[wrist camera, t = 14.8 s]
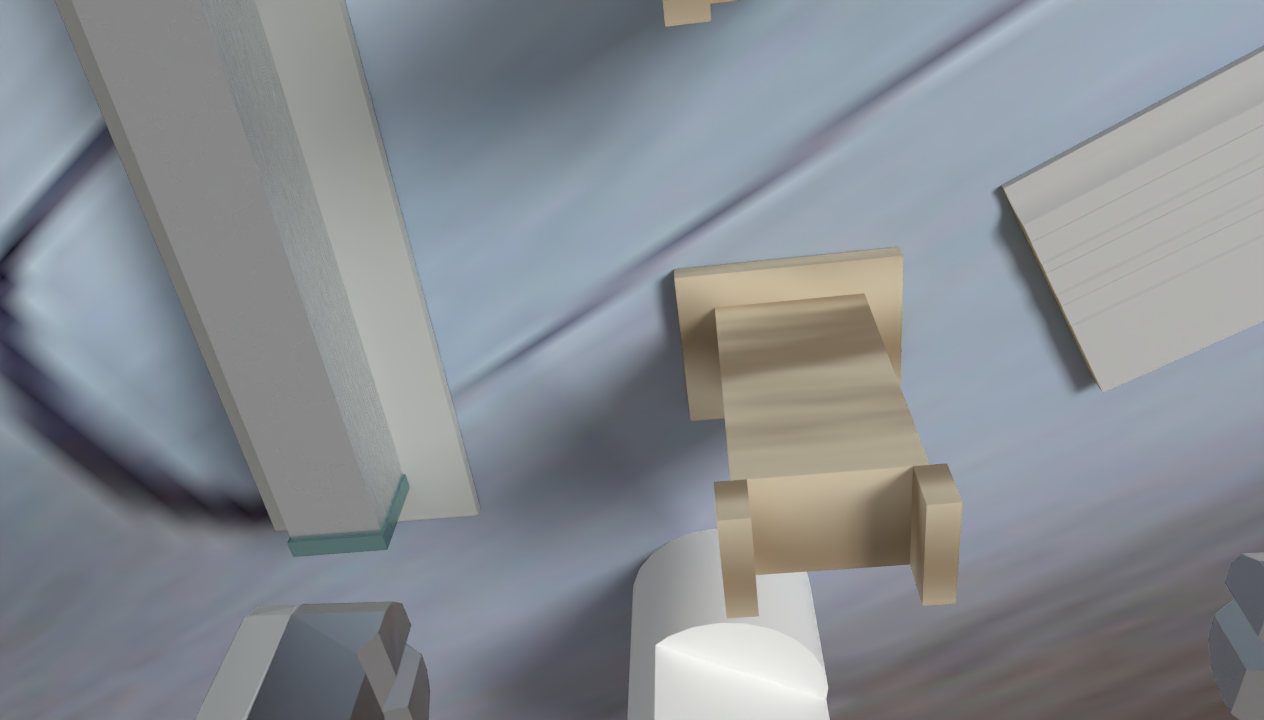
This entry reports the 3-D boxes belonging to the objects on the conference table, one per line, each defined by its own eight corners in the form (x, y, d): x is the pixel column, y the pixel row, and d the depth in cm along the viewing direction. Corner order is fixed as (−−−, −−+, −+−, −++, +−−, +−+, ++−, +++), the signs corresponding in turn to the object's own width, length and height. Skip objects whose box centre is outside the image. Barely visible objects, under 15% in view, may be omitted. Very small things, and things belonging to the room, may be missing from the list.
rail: (41, -261, 30) (-46, -266, 26) (170, -282, 29) (100, -290, 26) (322, 494, 45) (293, 556, 41) (409, 487, 45) (387, 549, 41)
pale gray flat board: (-68, -325, 29) (-81, -326, 29) (244, -377, 28) (236, -380, 28) (279, 522, 47) (275, 530, 46) (480, 506, 46) (478, 515, 45)
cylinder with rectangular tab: (605, 627, 50) (589, 847, 40) (676, 505, 46) (679, 717, 35) (761, 676, 52) (783, 900, 41) (843, 563, 47) (892, 782, 37)
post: (674, 269, 39) (677, 483, 27) (899, 247, 38) (1002, 457, 26) (690, 411, 43) (699, 653, 31) (896, 393, 42) (985, 635, 30)
